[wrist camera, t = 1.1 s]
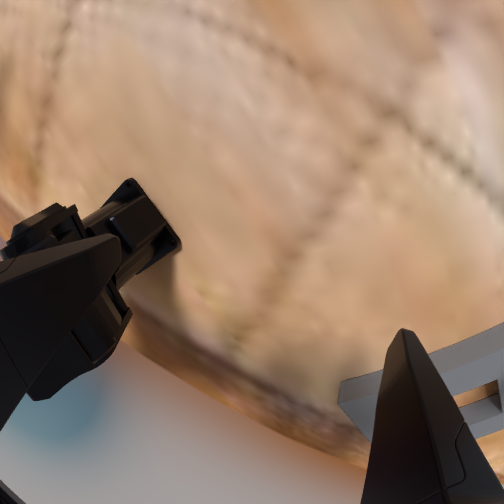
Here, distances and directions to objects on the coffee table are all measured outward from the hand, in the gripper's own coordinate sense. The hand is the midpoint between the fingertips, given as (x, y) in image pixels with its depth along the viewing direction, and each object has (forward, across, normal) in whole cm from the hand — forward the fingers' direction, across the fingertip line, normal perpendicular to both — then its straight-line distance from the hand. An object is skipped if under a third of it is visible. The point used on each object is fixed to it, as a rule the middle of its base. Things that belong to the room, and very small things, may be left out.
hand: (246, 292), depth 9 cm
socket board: (+12, -18, +15) cm, 26 cm away
